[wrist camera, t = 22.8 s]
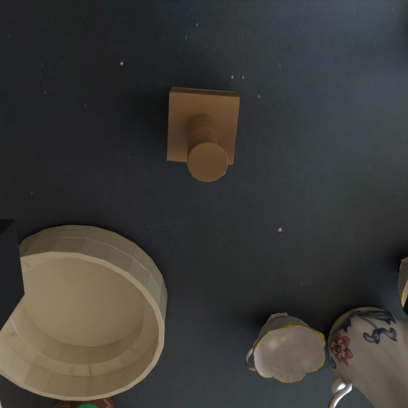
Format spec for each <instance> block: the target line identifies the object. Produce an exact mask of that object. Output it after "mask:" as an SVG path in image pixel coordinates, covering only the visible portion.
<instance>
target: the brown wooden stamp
mask: <svg viewBox="0 0 408 408" xmlns="http://www.w3.org/2000/svg"><path fill="white" fill-rule="evenodd" d="M239 103H240V97H239V96H238V95H237V94H236V93H235V92H234V91H224V90H211V89H197V88H184V87H171V90H170V92H169V114H168V141H167V161H180V162H187V167H188V170H189V172H190V174H191V175H192V176H193V177H194V178H196V179H197V180H200V181H203V182H212V181H215V180H217V179H219V178H220V177H221V176H222V175H223V174H224V173H225V171H226V169H227V167H228V164H229V165H233V158H234V149H235V140H236V130H237V121H238V112H239Z"/></svg>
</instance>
